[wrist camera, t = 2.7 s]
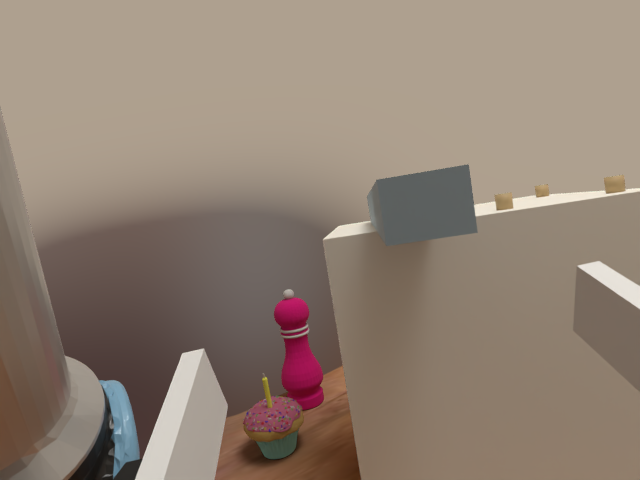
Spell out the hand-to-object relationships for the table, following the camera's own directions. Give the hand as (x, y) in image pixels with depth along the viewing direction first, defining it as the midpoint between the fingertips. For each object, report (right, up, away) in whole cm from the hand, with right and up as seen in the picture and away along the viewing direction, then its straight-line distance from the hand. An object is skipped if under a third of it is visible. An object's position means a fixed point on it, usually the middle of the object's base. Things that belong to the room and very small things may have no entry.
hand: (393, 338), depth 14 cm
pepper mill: (-5, -25, +55) cm, 61 cm away
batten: (+4, +5, +18) cm, 19 cm away
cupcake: (-8, -26, +42) cm, 51 cm away
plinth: (+15, -23, +27) cm, 39 cm away
